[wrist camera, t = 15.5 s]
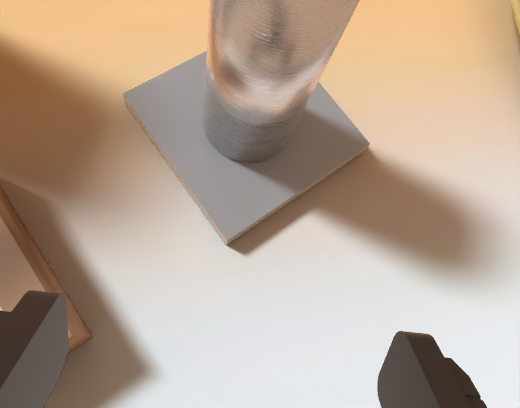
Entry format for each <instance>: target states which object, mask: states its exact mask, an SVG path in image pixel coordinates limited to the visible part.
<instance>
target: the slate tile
mask: <svg viewBox="0 0 520 408" xmlns="http://www.w3.org/2000/svg"><path fill="white" fill-rule="evenodd" d="M206 57H207V51H206V52H204V53H202V54H200V55H198V56H196V57H194V58H192V59H190V60H188V61H186V62H184V63H182V64H180V65H178V66H176V67H175V68H173V69H171V70H169V71H167V72H165V73H163V74H161V75H159V76H157V77H155V78H153V79H151V80H149V81H147V82H145V83H143V84H141V85H139V86H137V87H135V88H133V89H131V90H129V91H127V92H125V93H123V97H124V100H125V103H126V106H127V107H128V108H129V110H130V111H131V113H132V114H133V115H134V117H135V118H136V120H137V121H138V122H139V124H140V125H141V127H142V128H143V129H144V131H145V132H146V134H147V135H148V136H149V138H150V139H151V141H152V142H153V143H154V145H155V146H156V148H157V149H158V150H159V152H160V153H161V155H162V156H163V157H164V159H165V160H166V162H167V163H168V164H169V166H170V167H171V169H172V170H173V171H174V173H175V174H176V176H177V177H178V178H179V180H180V181H181V183H182V184H183V186H184V187H185V188H186V190H187V191H188V193H189V194H190V195H191V197H192V198H193V200H194V201H195V202H196V204H197V205H198V207H199V208H200V209H201V211H202V212H203V214H204V215H205V216H206V218H207V219H208V221H209V222H210V223H211V225H212V226H213V228H214V229H215V230H216V232H217V233H218V235H219V236H220V237H221V239H222V240H223V242H224V243H225V244H226V245H228V244H229V243H230V242H232V241H233V240H235V239H236V238H238V237H239V236H241V235H242V234H244V233H245V232H247V231H248V230H250V229H251V228H252V227H254V226H255V225H257V224H258V223H260V222H261V221H263V220H264V219H266V218H267V217H269V216H270V215H272V214H273V213H274V212H276V211H277V210H279V209H280V208H282V207H283V206H285V205H286V204H288V203H289V202H291V201H292V200H294V199H295V198H297V197H298V196H299V195H301V194H302V193H304V192H305V191H307V190H308V189H310V188H311V187H313V186H314V185H316V184H317V183H319V182H320V181H321V180H323V179H324V178H326V177H327V176H329V175H330V174H332V173H333V172H335V171H336V170H338V169H339V168H341V167H342V166H343V165H345V164H346V163H348V162H349V161H351V160H352V159H354V158H355V157H357V156H358V155H360V154H361V153H363V152H364V150H365V149H366V148H367V147H368V146H369V145H370V143H369V142H368V141H367V140H366V138H365V137H364V136H363V135H362V134H361V132H360V131H359V130H358V129H357V128H356V126H355V125H354V124H353V123H352V122H351V120H350V119H349V118H348V117H347V116H346V114H345V113H344V112H343V111H342V110H341V108H340V107H339V106H338V105H337V104H336V102H335V101H334V100H333V99H332V98H331V96H330V95H329V94H328V93H327V92H326V90H325V89H324V88H323V87H322V86H321V84H320V83H319V82H318V83H317V85H316V87H315V89H314V91H313V93H312V95H311V97H310V99H309V101H308V103H307V105H306V107H305V109H304V111H303V113H302V115H301V117H300V119H299V121H298V123H297V125H296V127H295V129H294V131H293V133H292V135H291V137H290V138H289V140H288V142H287V144H286V146H285V147H284V148H283V150H282V151H281V152H280V153H278V154H277V155H276V156H274V157H273V158H271V159H269V160H266V161H263V162H259V163H242V162H237V161H234V160H232V159H229V158H227V157H225V156H224V155H222V154H221V153H219V152H218V151H217V150H216V149H215V148H214V147H213V146H212V145H211V143H210V142H209V140H208V139H207V137H206V134H205V132H204V128H203V104H204V88H205V73H206Z"/></svg>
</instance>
